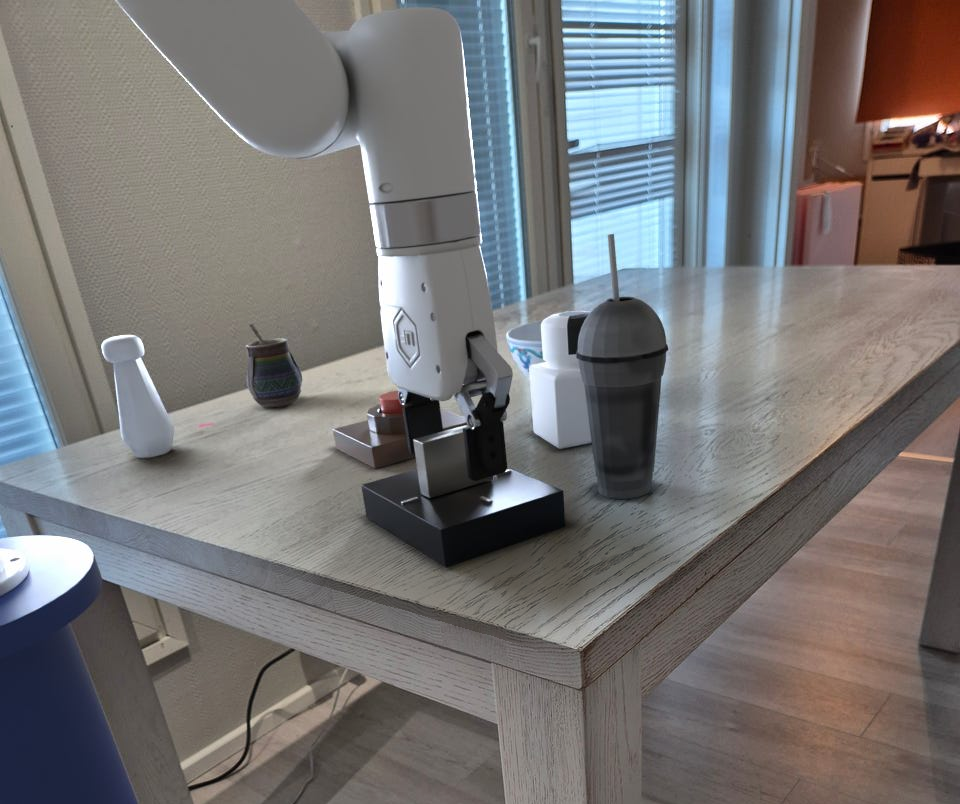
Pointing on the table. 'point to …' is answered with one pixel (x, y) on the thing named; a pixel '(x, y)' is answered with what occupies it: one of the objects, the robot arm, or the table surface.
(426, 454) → the brushed metal brick
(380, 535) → the table surface
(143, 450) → the salt shaker
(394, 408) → the button
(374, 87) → the robot arm
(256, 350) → the mate gourd
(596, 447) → the beverage cup
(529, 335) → the chinaware
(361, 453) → the button box
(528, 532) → the panel
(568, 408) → the medicine bottle
